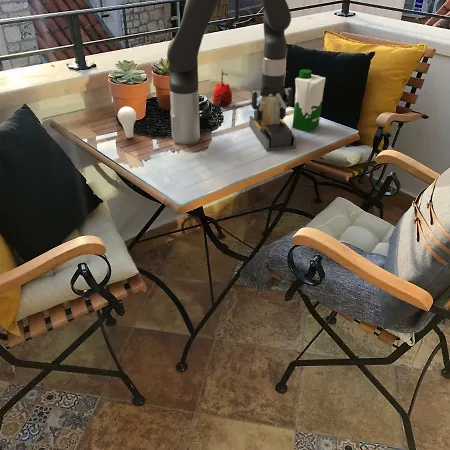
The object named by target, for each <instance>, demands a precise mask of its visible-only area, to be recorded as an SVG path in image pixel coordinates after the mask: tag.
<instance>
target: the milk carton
mask: <svg viewBox="0 0 450 450" xmlns="http://www.w3.org/2000/svg"><path fill="white" fill-rule="evenodd" d="M312 73H313V72H312V70H311V69H307V68H302V69H300V70H299V74H298V75H299V76H297V77H296V78H294V80H295V82H294V84H295V94H294V108H293V117H292V125H291V128H292V129H294V130H297V131H302V132H304V133H312V132H313V131H315V130H316V129H317V128H319V126H320V120H321V111H322V106H323V105H322V103H323V96H324V88H325V83H326V77H325V76H324V77H323V76H320V75H315V74H312Z"/></svg>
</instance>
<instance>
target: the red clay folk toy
mask: <svg viewBox="0 0 450 450" xmlns="http://www.w3.org/2000/svg"><path fill="white" fill-rule="evenodd" d="M220 71H221V77H220V79H221V82H218V83H216V85H215V86H216V87H214V90H213V94H212V95H213V97H212V102H213V104H214V106H216V108H217V107H218V108H227V107H230V106H231V105H232V102H233V93H232V90H231V88H230V85H229V83H224V81H223V80H224V78H223V77H224V75H225V76H228V73H224V71H223V69H221V70H220Z"/></svg>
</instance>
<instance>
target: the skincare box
mask: <svg viewBox="0 0 450 450" xmlns="http://www.w3.org/2000/svg"><path fill="white" fill-rule="evenodd" d="M282 97H283V96H282ZM282 97H281V98H282ZM261 98H262V102H263V101H264V100H265V99H266V102H265V103H266V105H265V106H264V107H263V109H262V121H261V128H262V130H263V131H264V130H265V125H272V124H280V114H281V104H280V102H279V100H278V98H277V96H272V97H262V96H261ZM282 99H283V98H282Z"/></svg>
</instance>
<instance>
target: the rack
mask: <svg viewBox="0 0 450 450" xmlns="http://www.w3.org/2000/svg"><path fill="white" fill-rule="evenodd" d="M256 115H257V110H254V109H253V116H252V115H250V116H249V124H248V125H249V128H250V129H251V131H252V132H253V134H254V136H255V137H256V138H257V141H259V142H260V145H261V146H262V147H263V148H264V150H265V151H266V152H275V151H287V150H295V149H296V147H297V146H296V144H297V136H296V135H295V134H294V132H293V131H292V130H291V129H290V128H289V126H288V124H286V122H285V121H284V119H282V120H281V119H280V124H272V125H265V130H264V131H263V130H262V128H261V121H259V120H258V119H257V117H256Z"/></svg>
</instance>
